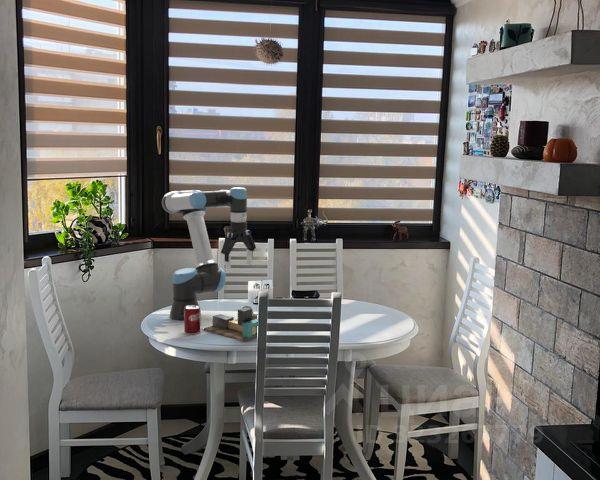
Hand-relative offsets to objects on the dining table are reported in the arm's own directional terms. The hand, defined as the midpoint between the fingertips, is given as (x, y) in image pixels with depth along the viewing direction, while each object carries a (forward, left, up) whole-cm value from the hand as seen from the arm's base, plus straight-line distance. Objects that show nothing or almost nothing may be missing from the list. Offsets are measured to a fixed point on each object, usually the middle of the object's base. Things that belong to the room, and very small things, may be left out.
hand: (238, 266), depth 348 cm
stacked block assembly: (+7, -9, -28) cm, 30 cm away
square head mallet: (+10, -9, -27) cm, 30 cm away
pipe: (-1, +13, -29) cm, 32 cm away
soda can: (-8, -22, -29) cm, 37 cm away
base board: (+7, -9, -29) cm, 31 cm away
